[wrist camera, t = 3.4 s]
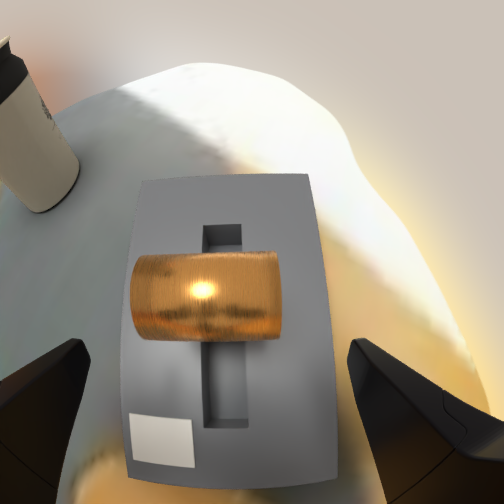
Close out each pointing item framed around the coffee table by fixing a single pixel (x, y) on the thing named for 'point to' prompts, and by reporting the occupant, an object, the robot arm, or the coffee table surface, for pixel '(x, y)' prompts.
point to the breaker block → (233, 346)
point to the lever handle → (207, 297)
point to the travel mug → (30, 139)
